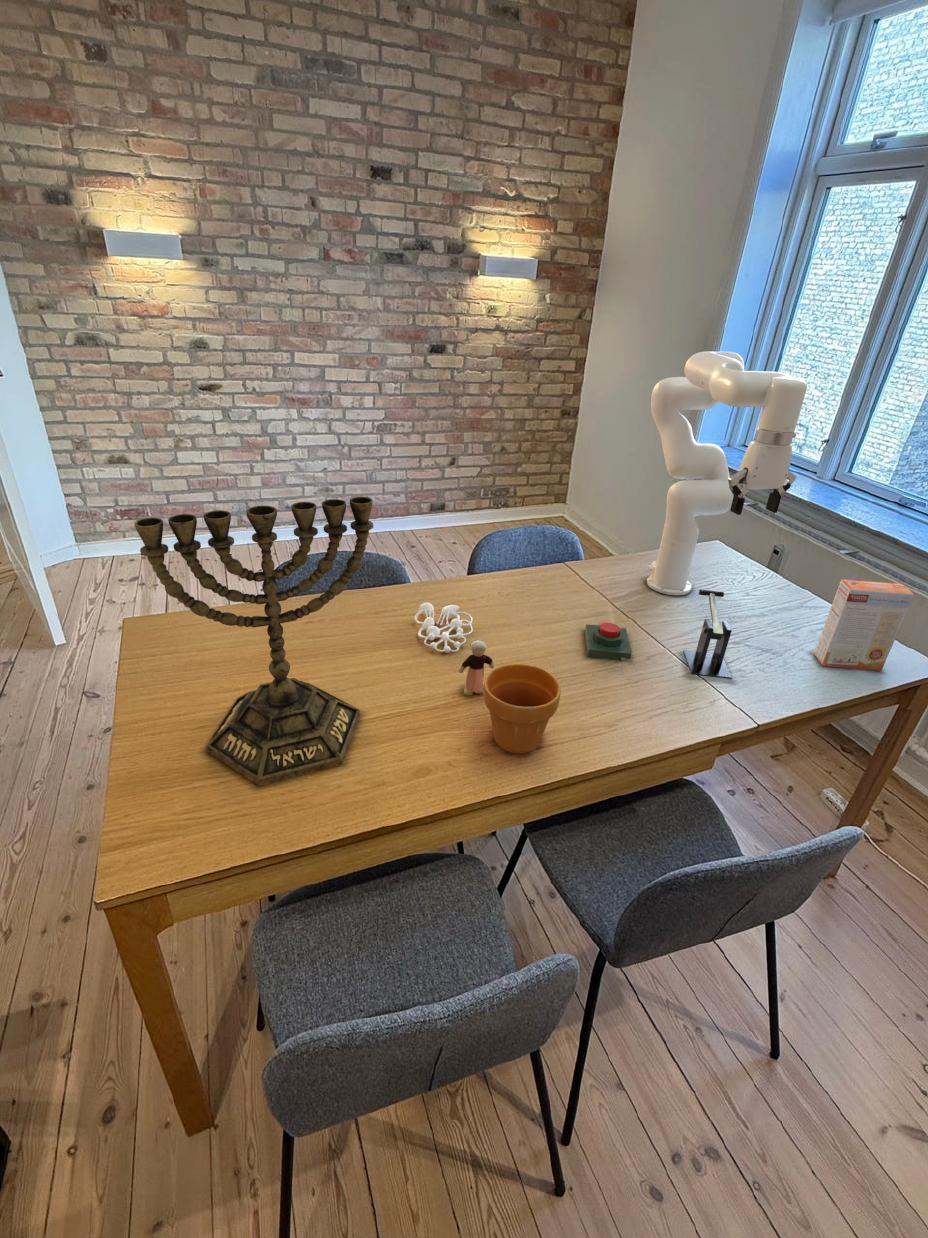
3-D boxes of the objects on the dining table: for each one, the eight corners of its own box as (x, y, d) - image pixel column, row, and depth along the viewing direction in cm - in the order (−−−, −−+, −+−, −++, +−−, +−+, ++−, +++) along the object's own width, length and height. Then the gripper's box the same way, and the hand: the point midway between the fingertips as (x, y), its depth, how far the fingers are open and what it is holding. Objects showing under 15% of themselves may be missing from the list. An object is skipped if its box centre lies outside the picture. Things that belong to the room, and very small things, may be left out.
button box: (584, 631, 162) (587, 618, 160) (624, 635, 162) (627, 621, 160) (587, 657, 152) (589, 642, 150) (629, 661, 151) (632, 647, 149)
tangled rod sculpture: (474, 659, 150) (476, 645, 148) (413, 654, 149) (414, 640, 147) (470, 617, 167) (472, 603, 165) (414, 611, 165) (416, 598, 163)
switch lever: (697, 593, 153) (700, 586, 151) (721, 595, 153) (724, 589, 151) (702, 638, 146) (706, 632, 144) (727, 640, 145) (731, 634, 143)
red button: (598, 627, 157) (599, 621, 156) (617, 629, 157) (618, 623, 156) (600, 637, 153) (601, 631, 152) (619, 639, 153) (620, 633, 152)
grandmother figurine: (464, 700, 135) (467, 649, 129) (455, 690, 138) (458, 640, 131) (495, 691, 138) (500, 641, 132) (486, 682, 141) (490, 632, 135)
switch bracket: (682, 654, 155) (693, 611, 149) (720, 658, 154) (733, 615, 149) (690, 677, 146) (702, 633, 141) (730, 682, 146) (744, 637, 140)
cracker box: (870, 658, 158) (903, 582, 147) (881, 672, 152) (917, 594, 142) (812, 653, 158) (840, 577, 148) (821, 666, 153) (852, 589, 143)
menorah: (191, 804, 106) (135, 556, 84) (180, 716, 126) (132, 495, 104) (398, 749, 120) (397, 524, 98) (359, 677, 140) (351, 476, 118)
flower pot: (468, 724, 128) (472, 670, 121) (530, 709, 133) (537, 657, 127) (499, 771, 117) (505, 715, 110) (566, 753, 122) (575, 698, 115)
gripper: (794, 432, 146) (773, 505, 154) (729, 434, 142) (711, 508, 150) (818, 440, 139) (795, 515, 148) (750, 442, 135) (731, 519, 143)
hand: (753, 511), depth 149 cm, fingers open, 9 cm apart
